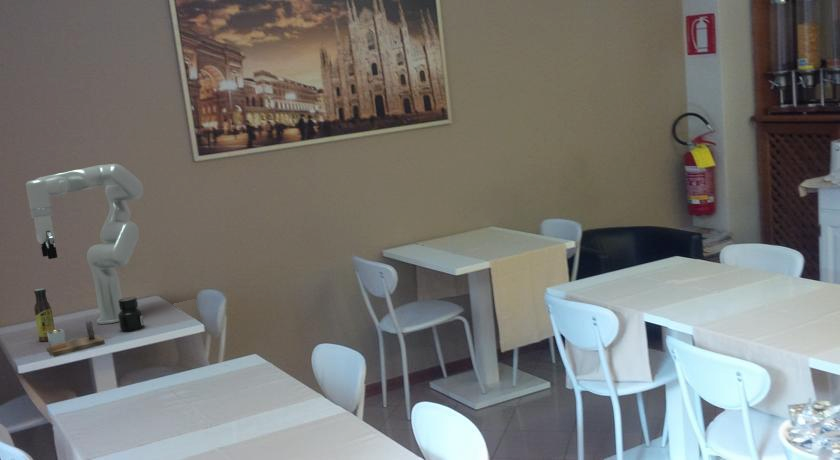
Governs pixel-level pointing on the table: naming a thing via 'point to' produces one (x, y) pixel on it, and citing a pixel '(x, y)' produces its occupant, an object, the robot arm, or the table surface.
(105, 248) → the robot arm
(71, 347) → the pin board
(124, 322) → the ink bottle
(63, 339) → the sleeve
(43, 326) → the sauce bottle
